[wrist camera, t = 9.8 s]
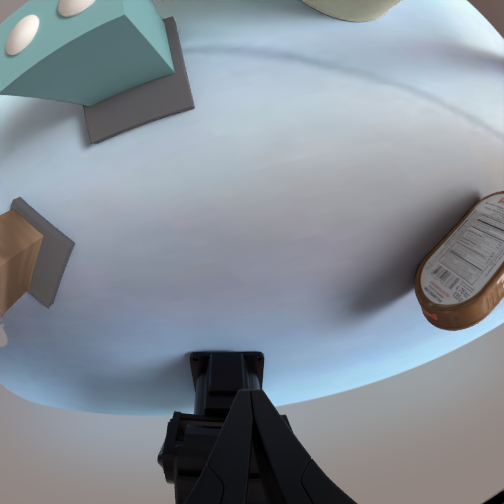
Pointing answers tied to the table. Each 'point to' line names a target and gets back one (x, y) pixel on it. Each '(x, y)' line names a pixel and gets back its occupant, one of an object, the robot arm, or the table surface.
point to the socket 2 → (143, 98)
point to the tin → (465, 269)
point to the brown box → (16, 257)
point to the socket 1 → (45, 254)
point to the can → (353, 8)
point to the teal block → (82, 49)
